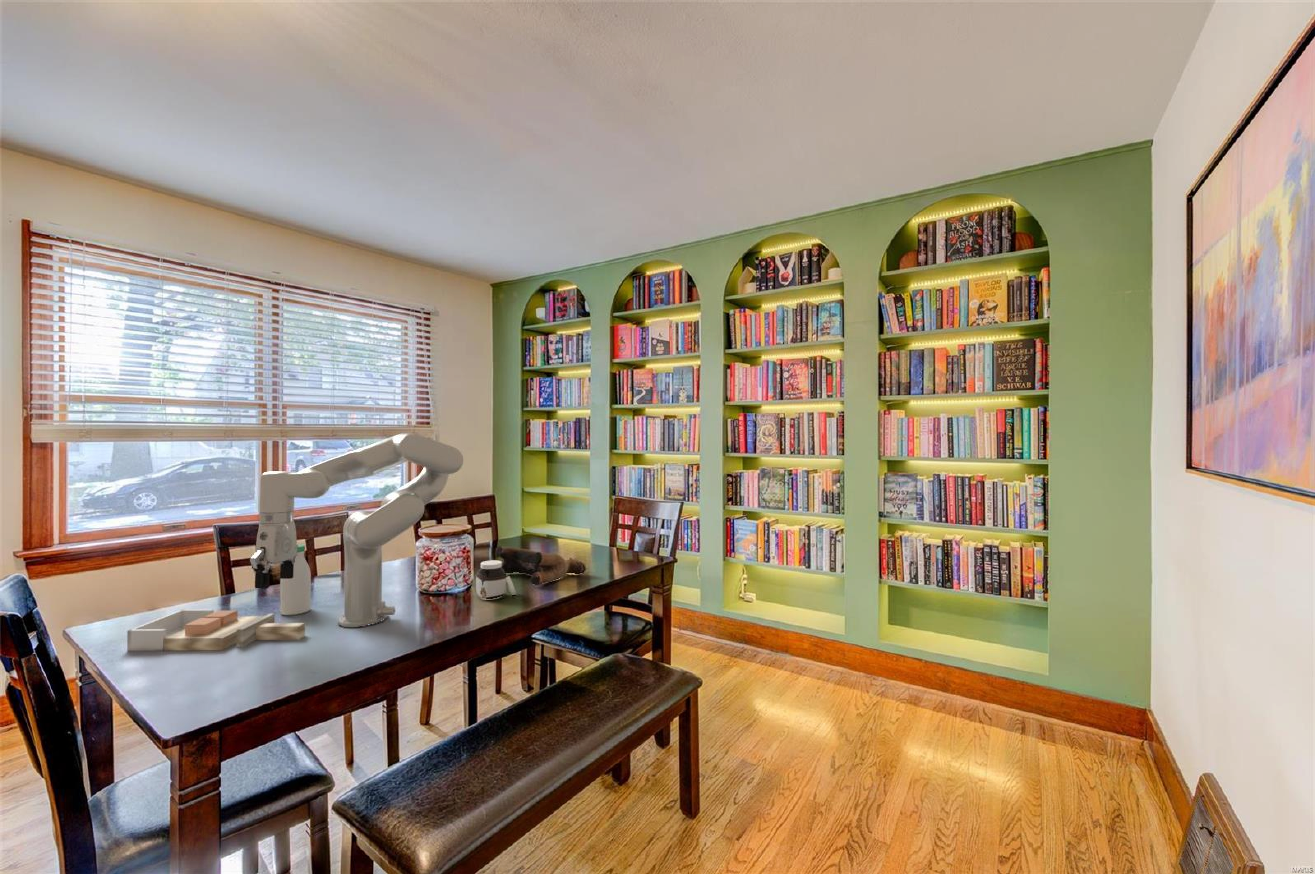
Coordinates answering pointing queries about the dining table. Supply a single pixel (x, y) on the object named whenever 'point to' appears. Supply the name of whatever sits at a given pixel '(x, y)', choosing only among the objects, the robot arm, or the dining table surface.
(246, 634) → the scraper
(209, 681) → the dining table surface
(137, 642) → the box
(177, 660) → the dining table surface
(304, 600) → the milk bottle
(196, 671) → the dining table surface
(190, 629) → the tile
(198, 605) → the dining table surface
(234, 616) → the tile
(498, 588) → the spread jar
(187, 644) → the board
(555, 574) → the brown teddy bear
